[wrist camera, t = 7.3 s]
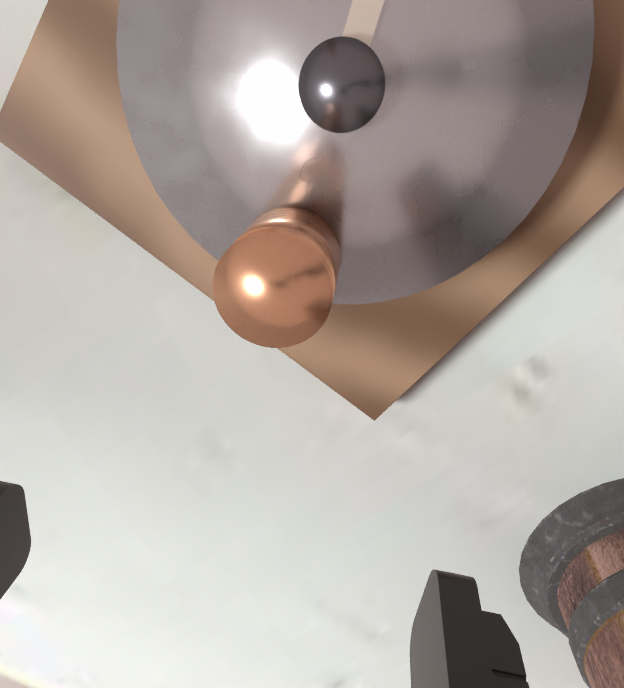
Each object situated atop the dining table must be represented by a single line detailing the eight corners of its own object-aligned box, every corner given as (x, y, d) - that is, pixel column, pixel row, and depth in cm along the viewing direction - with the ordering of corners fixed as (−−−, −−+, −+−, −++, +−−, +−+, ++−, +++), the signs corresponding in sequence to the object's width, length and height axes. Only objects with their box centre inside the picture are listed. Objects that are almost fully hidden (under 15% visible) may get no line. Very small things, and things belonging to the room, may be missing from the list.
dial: (173, -299, 19) (82, -462, 14) (685, -110, 20) (809, -189, 14) (104, 232, 29) (34, 270, 23) (455, 350, 29) (474, 417, 23)
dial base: (299, -497, 19) (288, -566, 17) (765, 29, 23) (801, 24, 21) (14, 131, 29) (-13, 134, 27) (374, 402, 34) (374, 422, 32)
